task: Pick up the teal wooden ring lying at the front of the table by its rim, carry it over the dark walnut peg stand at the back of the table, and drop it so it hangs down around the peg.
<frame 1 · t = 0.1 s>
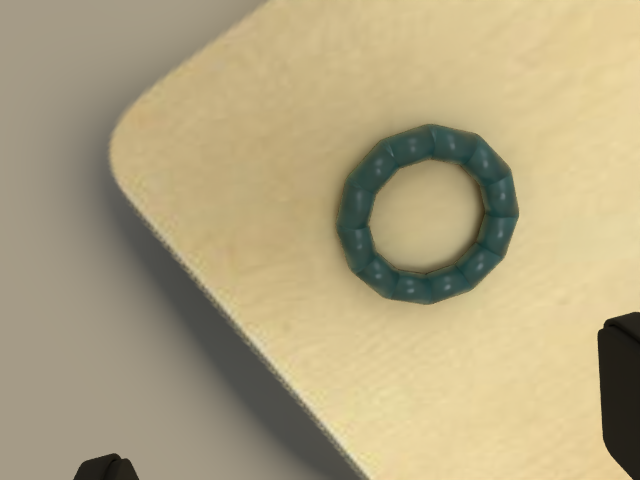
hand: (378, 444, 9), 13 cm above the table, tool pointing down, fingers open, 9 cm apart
ring: (428, 219, 21), point 1 cm above the table
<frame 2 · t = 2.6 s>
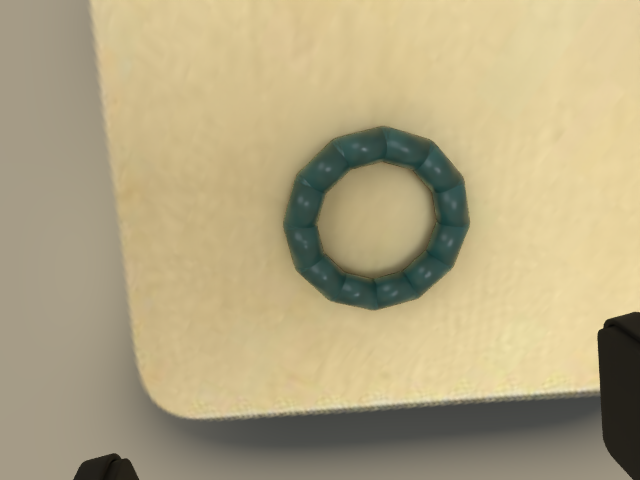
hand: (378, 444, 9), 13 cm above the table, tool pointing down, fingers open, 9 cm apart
ring: (378, 223, 21), point 1 cm above the table
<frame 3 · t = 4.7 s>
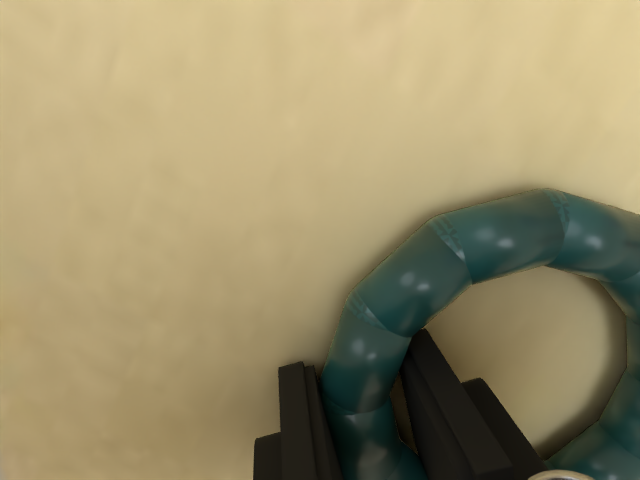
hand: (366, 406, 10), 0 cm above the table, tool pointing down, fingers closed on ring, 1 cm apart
ring: (515, 383, 10), point 1 cm above the table, touching gripper
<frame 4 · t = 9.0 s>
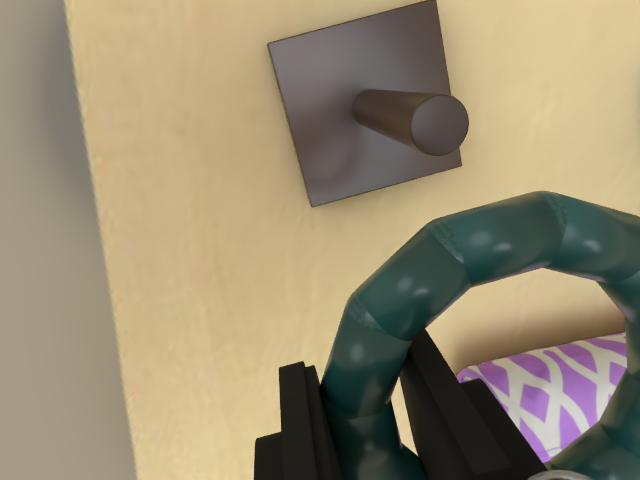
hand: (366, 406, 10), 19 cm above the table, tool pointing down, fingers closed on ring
stand: (365, 107, 28), on the table
pencil case: (587, 366, 35), on the table
ring: (515, 385, 10), point 20 cm above the table, touching gripper
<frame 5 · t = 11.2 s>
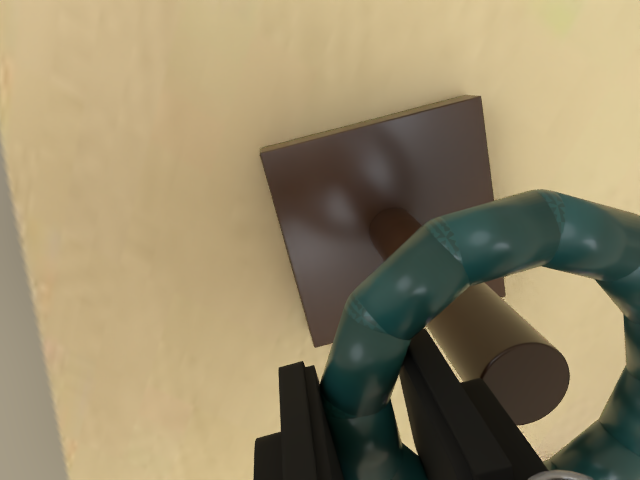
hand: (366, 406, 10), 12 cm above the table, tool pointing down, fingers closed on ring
stand: (384, 220, 22), on the table
ring: (514, 384, 10), point 12 cm above the table, touching gripper
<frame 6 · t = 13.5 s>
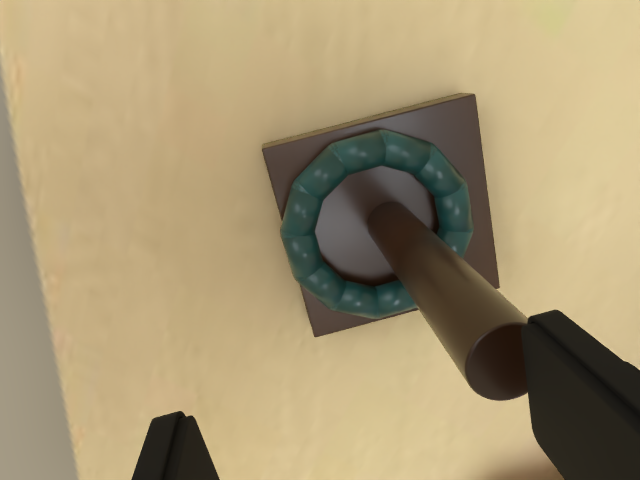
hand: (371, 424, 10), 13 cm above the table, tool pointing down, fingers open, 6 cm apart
stand: (382, 214, 22), on the table
ring: (378, 229, 20), point 2 cm above the table, touching stand
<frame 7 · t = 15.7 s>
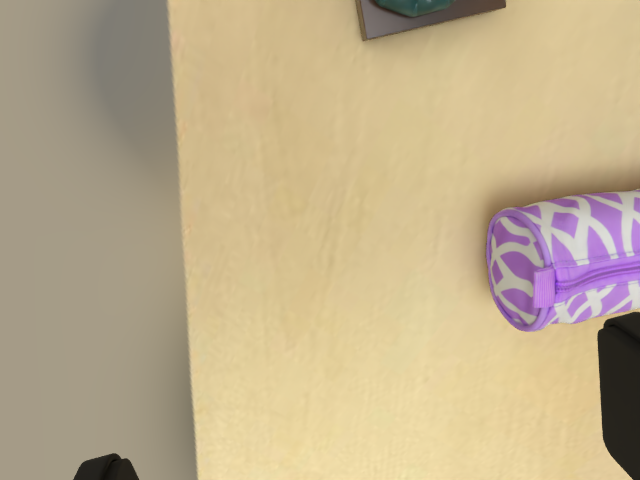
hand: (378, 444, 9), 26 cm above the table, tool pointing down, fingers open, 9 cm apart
pencil case: (608, 230, 38), on the table
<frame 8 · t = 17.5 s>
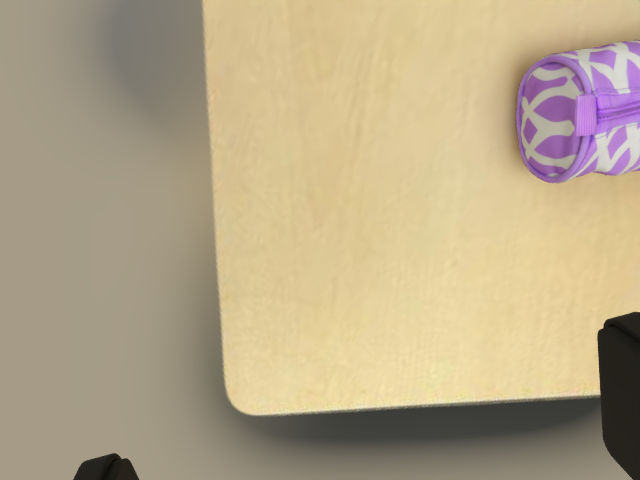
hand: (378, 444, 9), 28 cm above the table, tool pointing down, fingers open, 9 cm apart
pencil case: (638, 98, 37), on the table
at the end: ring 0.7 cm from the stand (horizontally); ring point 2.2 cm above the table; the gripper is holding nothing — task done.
